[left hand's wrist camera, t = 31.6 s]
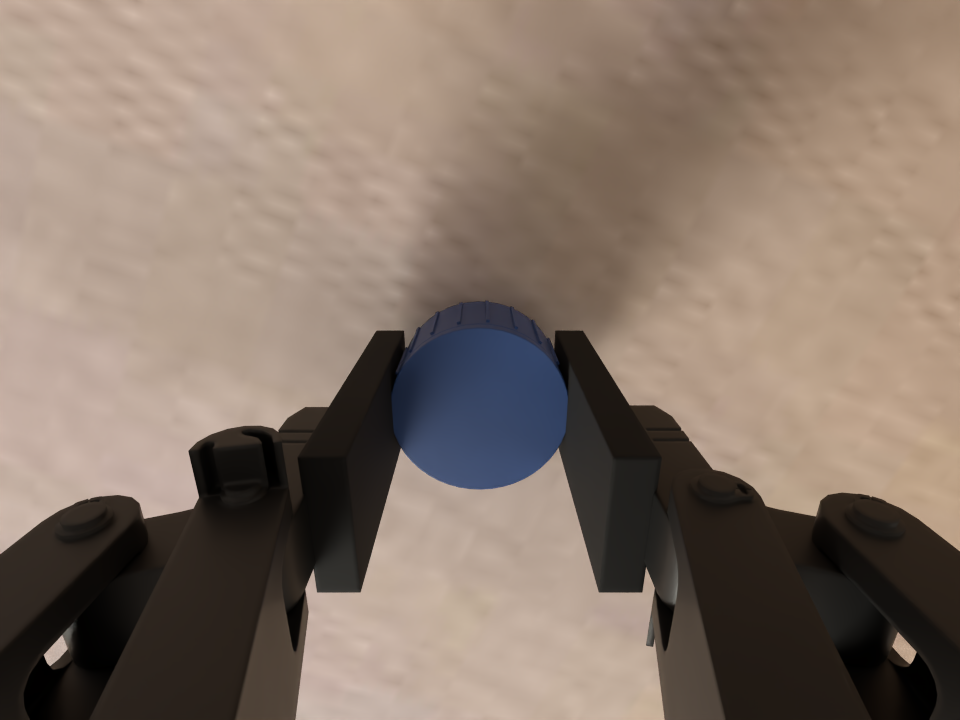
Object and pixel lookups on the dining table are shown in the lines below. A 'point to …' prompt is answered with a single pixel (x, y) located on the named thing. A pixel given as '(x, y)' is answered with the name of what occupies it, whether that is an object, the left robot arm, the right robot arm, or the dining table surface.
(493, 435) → the cap
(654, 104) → the dining table surface
